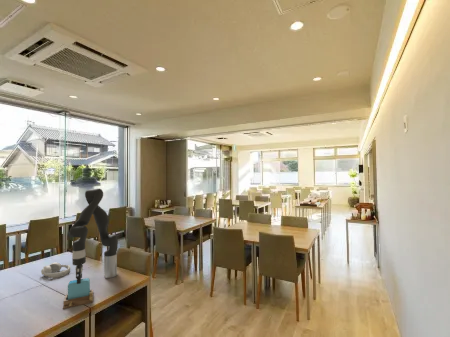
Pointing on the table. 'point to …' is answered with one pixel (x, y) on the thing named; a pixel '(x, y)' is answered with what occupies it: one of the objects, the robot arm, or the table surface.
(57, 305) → the table surface
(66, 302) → the caddy
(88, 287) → the data package
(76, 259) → the robot arm
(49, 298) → the table surface
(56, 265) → the headphones
